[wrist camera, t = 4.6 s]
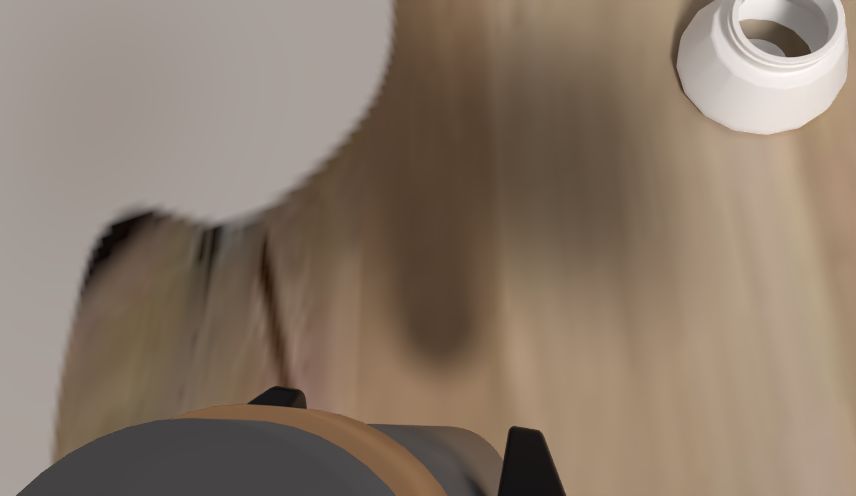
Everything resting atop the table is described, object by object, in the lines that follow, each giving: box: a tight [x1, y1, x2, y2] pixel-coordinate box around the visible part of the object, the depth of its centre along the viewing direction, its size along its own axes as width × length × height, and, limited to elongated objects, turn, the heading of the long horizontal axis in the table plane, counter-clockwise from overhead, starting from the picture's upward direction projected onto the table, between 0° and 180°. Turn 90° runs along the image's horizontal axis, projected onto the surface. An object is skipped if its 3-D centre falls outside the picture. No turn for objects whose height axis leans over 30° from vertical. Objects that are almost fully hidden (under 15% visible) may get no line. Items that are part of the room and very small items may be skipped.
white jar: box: [676, 0, 849, 135], centre depth 20 cm, size 5×3×5 cm
